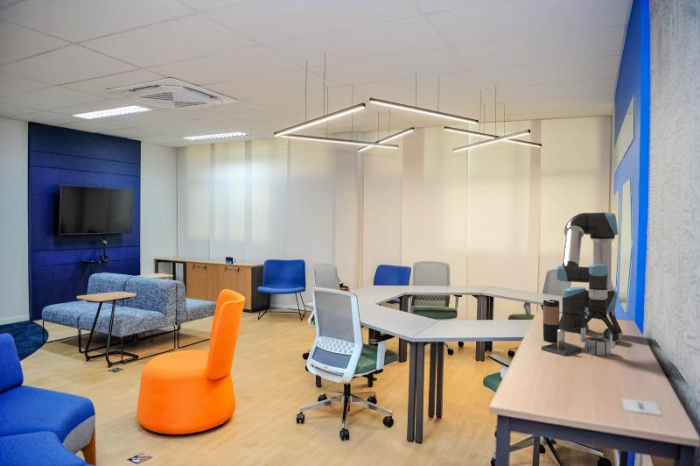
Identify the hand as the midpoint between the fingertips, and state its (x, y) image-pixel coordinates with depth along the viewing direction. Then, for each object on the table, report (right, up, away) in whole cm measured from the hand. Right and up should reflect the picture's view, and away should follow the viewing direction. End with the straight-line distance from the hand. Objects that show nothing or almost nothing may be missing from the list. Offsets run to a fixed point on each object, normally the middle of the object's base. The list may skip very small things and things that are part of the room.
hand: (597, 345), depth 213 cm
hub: (0, -4, 0) cm, 4 cm away
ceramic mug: (+17, -3, +20) cm, 27 cm away
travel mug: (-11, -3, +23) cm, 26 cm away
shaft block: (-15, -4, +4) cm, 16 cm away
